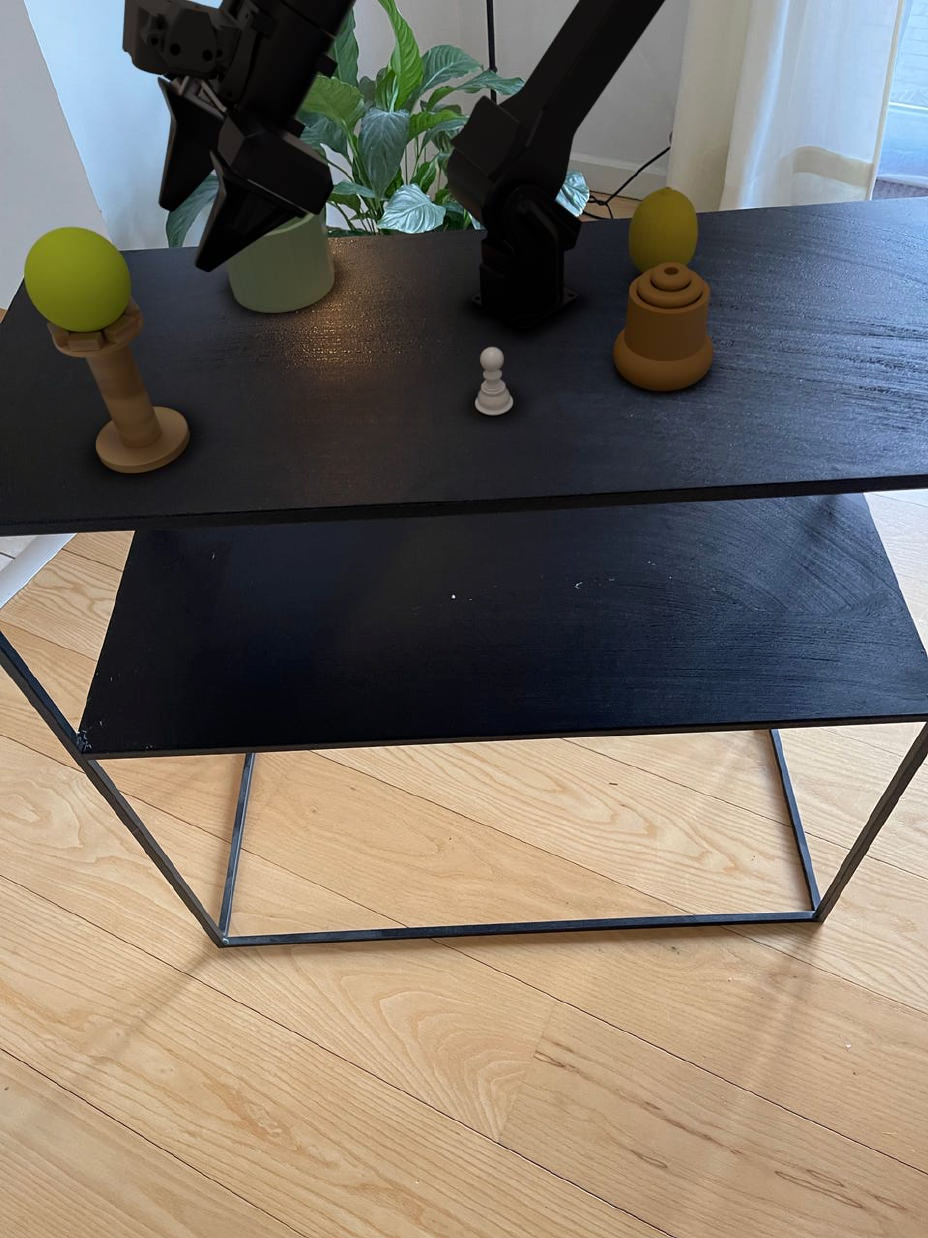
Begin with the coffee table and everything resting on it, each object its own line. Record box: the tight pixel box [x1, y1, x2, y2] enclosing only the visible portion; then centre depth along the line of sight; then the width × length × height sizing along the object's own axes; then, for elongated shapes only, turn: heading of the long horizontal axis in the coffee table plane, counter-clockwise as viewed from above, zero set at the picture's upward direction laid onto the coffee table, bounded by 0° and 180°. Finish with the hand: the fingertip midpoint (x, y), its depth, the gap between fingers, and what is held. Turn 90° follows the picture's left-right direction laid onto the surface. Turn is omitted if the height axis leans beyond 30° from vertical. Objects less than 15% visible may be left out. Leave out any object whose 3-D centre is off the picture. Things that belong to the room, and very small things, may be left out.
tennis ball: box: [23, 226, 132, 332], centre depth 63 cm, size 6×6×6 cm
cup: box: [223, 208, 335, 314], centre depth 84 cm, size 9×9×7 cm
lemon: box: [627, 186, 699, 274], centre depth 80 cm, size 6×6×8 cm
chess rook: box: [46, 295, 191, 474], centre depth 69 cm, size 7×7×11 cm
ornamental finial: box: [612, 262, 715, 392], centre depth 72 cm, size 8×8×8 cm
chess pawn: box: [474, 346, 514, 416], centre depth 71 cm, size 3×3×5 cm
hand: (182, 237), depth 65 cm, fingers open, 9 cm apart
